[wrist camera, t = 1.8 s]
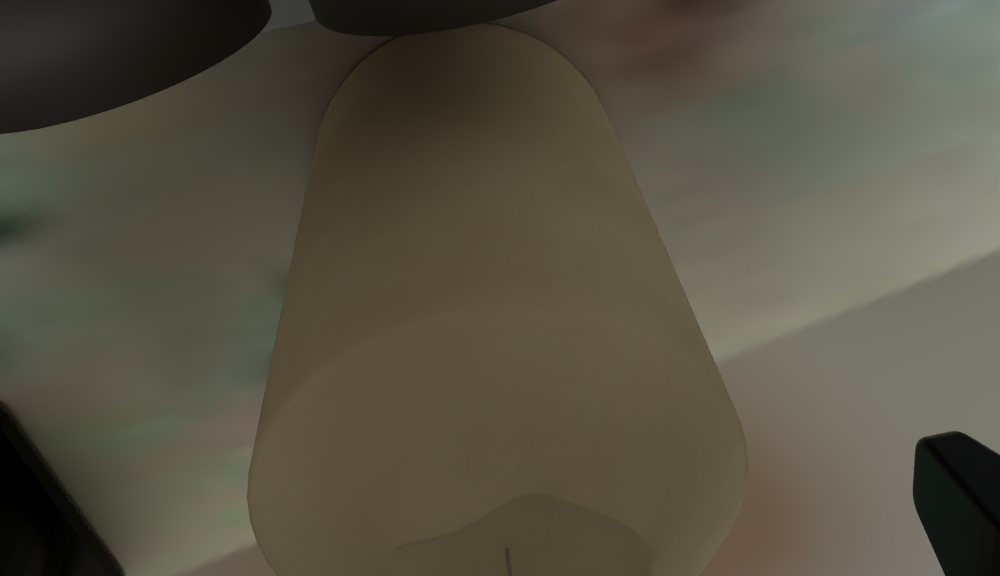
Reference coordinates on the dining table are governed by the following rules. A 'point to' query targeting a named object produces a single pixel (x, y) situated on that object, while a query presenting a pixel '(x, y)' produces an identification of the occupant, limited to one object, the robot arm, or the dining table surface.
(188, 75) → the trolley
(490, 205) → the candle
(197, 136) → the dining table surface
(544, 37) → the dining table surface
